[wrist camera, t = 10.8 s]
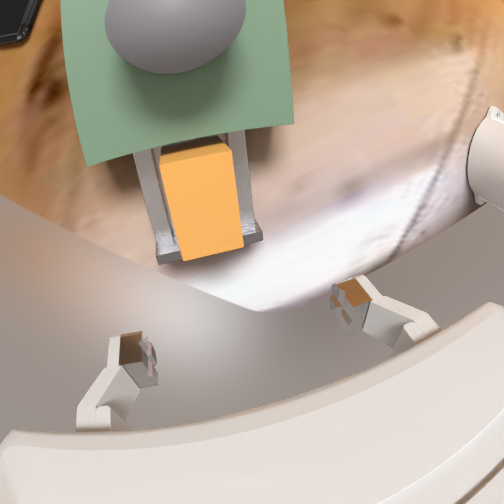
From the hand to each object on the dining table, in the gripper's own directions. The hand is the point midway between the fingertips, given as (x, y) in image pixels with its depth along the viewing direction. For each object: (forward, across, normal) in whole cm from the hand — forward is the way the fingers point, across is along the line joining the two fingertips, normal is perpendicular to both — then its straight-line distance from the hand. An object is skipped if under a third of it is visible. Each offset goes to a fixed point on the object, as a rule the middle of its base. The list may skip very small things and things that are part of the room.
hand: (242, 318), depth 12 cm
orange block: (+17, 0, 0) cm, 17 cm away
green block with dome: (+18, 0, -12) cm, 21 cm away
